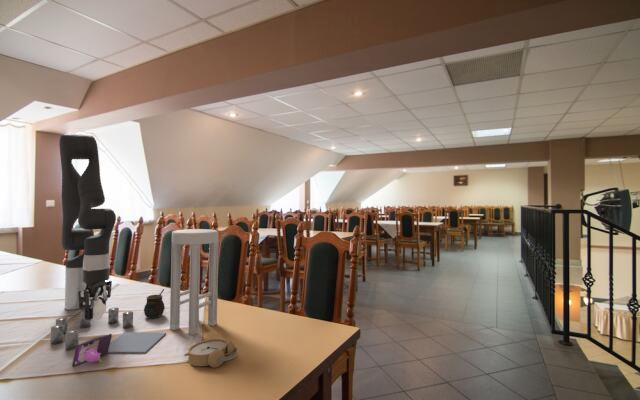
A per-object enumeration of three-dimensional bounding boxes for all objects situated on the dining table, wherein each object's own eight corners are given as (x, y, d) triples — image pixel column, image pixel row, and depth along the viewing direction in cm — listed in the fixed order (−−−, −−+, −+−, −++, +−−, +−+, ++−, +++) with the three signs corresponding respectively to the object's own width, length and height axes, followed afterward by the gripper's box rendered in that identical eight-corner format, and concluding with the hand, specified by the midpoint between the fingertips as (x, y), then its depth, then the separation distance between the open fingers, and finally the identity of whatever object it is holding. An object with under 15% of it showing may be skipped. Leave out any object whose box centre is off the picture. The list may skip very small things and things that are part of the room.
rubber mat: (124, 334, 110) (124, 332, 110) (165, 334, 111) (166, 332, 111) (97, 353, 96) (97, 351, 96) (145, 353, 97) (145, 351, 97)
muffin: (97, 322, 107) (98, 301, 107) (79, 322, 107) (80, 301, 107) (110, 316, 113) (110, 296, 113) (93, 315, 113) (93, 295, 113)
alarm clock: (206, 337, 102) (245, 337, 97) (208, 353, 102) (247, 354, 96) (178, 352, 92) (219, 353, 86) (180, 370, 92) (222, 372, 86)
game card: (110, 332, 96) (75, 343, 88) (119, 341, 93) (84, 354, 85) (105, 351, 97) (70, 364, 89) (114, 361, 94) (79, 376, 86)
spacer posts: (81, 320, 122) (82, 307, 122) (140, 320, 122) (140, 307, 122) (25, 350, 97) (25, 333, 97) (98, 350, 98) (98, 333, 98)
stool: (225, 323, 122) (226, 230, 122) (193, 338, 108) (195, 233, 108) (194, 316, 128) (196, 228, 128) (160, 330, 114) (162, 231, 114)
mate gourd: (139, 318, 125) (139, 292, 125) (155, 312, 132) (155, 287, 132) (153, 321, 122) (153, 294, 122) (168, 314, 130) (169, 289, 130)
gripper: (98, 262, 117) (98, 308, 117) (69, 271, 103) (68, 323, 103) (120, 262, 117) (119, 308, 118) (93, 272, 103) (92, 324, 103)
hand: (95, 315), depth 110 cm, fingers closed on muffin, 6 cm apart
